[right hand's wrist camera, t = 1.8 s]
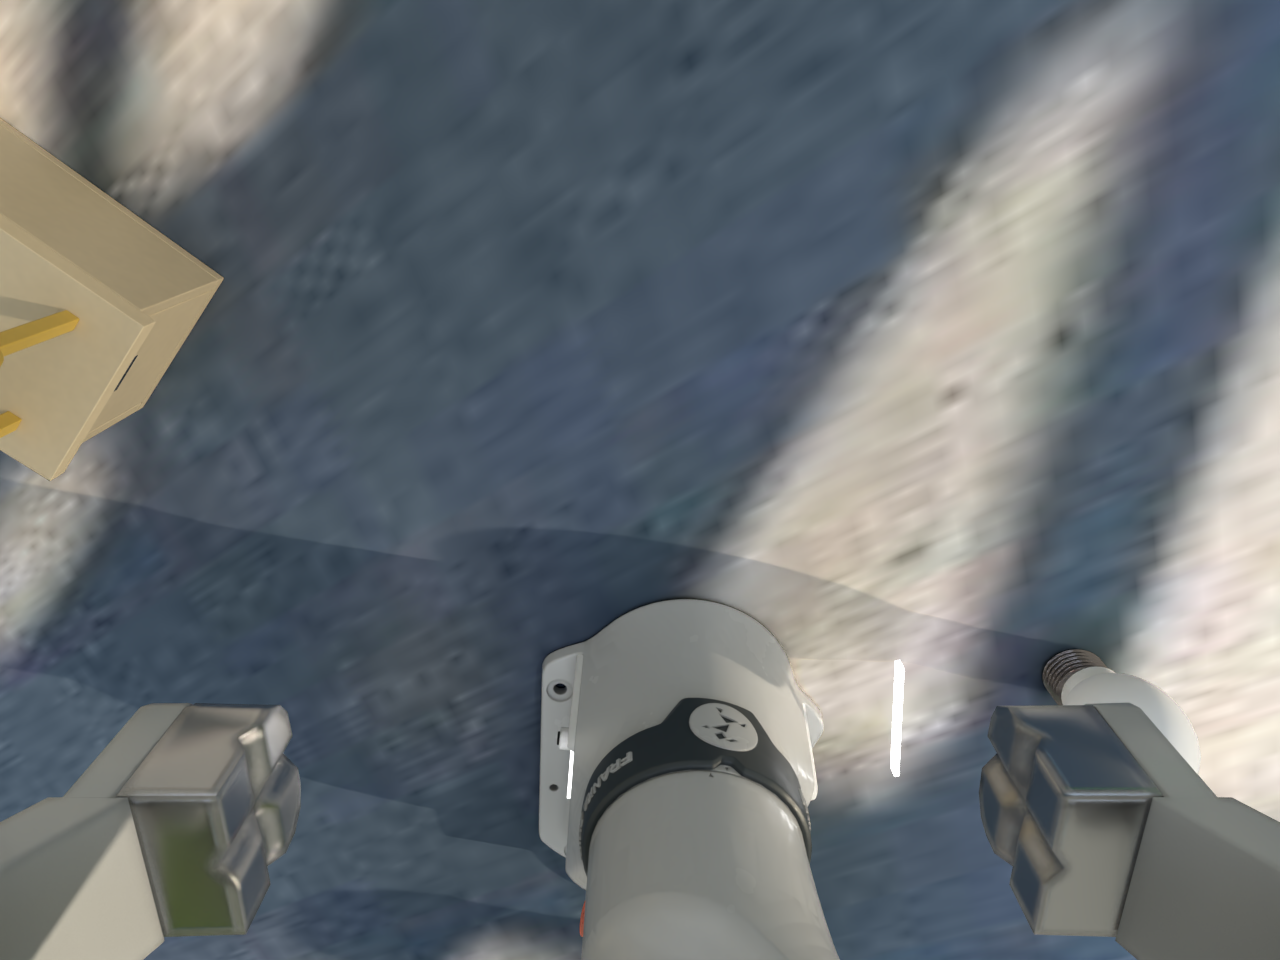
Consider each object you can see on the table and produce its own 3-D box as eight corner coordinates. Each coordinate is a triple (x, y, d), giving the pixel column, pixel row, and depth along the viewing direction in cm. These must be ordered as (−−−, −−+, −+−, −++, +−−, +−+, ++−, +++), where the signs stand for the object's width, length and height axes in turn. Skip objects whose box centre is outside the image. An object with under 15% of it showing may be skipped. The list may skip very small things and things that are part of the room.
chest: (224, 278, 49) (141, 310, 41) (143, 408, 52) (49, 463, 44) (-44, 85, 46) (-194, 79, 38) (-117, 236, 49) (-271, 261, 40)
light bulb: (1004, 698, 59) (1079, 819, 49) (1055, 613, 57) (1146, 722, 47) (1094, 727, 60) (1187, 851, 50) (1148, 645, 58) (1258, 758, 48)
